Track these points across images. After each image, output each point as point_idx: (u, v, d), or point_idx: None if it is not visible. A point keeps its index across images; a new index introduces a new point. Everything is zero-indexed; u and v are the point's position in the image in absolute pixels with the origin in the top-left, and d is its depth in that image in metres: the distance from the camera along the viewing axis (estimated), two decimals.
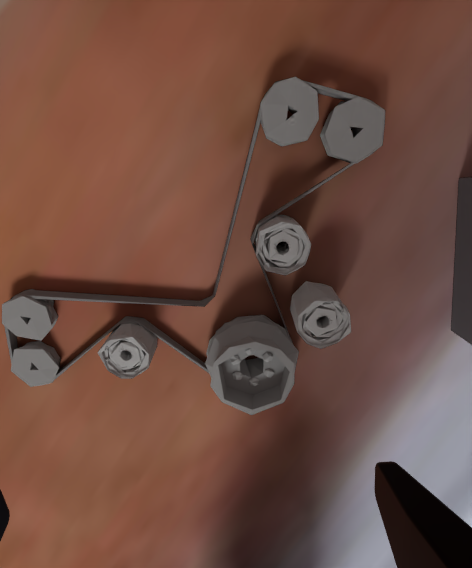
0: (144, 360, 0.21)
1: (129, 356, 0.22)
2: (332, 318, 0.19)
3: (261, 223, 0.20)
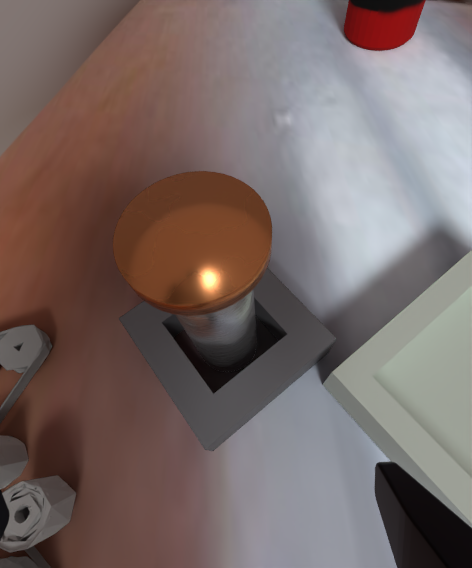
0: None
1: None
2: (30, 504, 0.17)
3: None
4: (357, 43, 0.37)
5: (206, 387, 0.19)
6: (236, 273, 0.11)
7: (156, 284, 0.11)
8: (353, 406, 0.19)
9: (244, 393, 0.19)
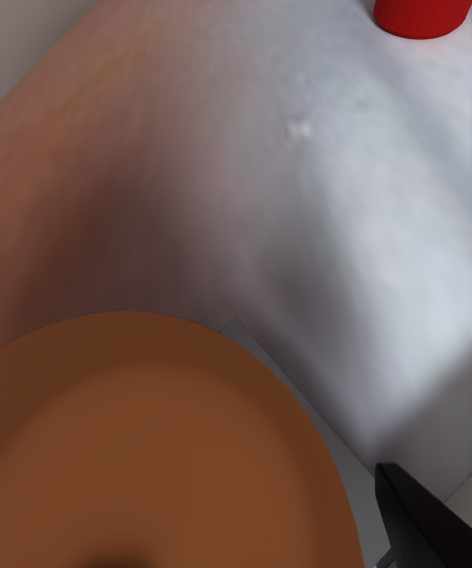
0: None
1: None
2: None
3: None
4: (392, 30, 0.29)
5: None
6: None
7: None
8: None
9: None
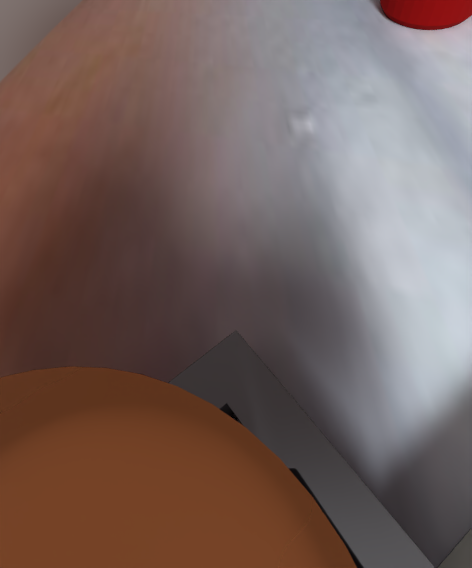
0: None
1: None
2: None
3: None
4: (400, 19, 0.27)
5: None
6: None
7: None
8: None
9: None
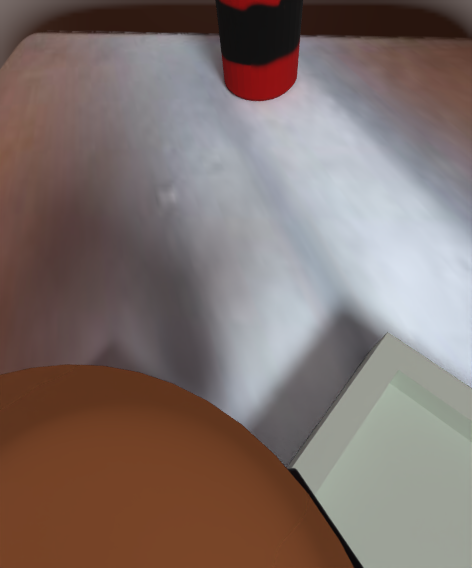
0: None
1: None
2: None
3: None
4: (239, 95, 0.35)
5: None
6: None
7: None
8: None
9: None
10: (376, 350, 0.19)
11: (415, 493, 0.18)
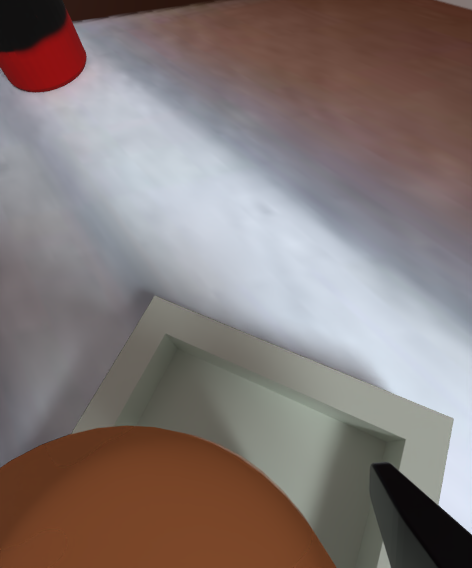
0: None
1: None
2: None
3: None
4: (24, 88, 0.31)
5: None
6: None
7: None
8: None
9: None
10: (142, 318, 0.17)
11: None
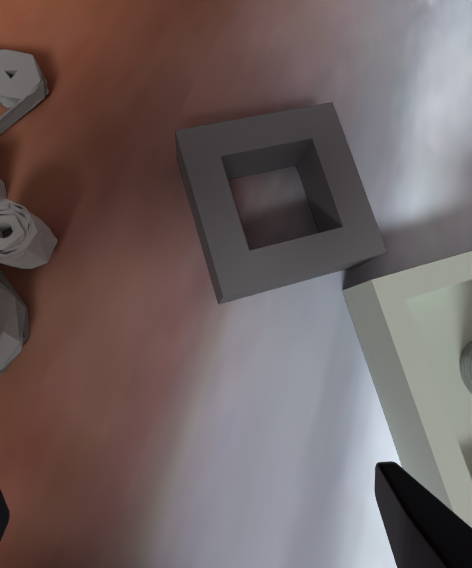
0: None
1: None
2: (14, 224, 0.16)
3: None
4: None
5: (244, 241, 0.18)
6: None
7: None
8: (370, 319, 0.19)
9: (279, 262, 0.18)
10: None
11: None
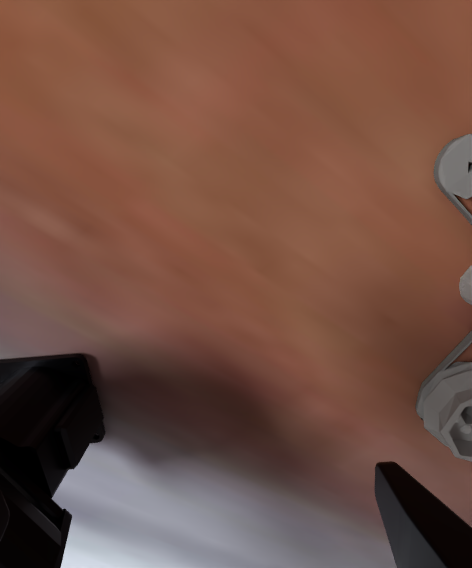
0: None
1: None
2: None
3: None
4: None
5: None
6: None
7: None
8: None
9: None
10: None
11: None
